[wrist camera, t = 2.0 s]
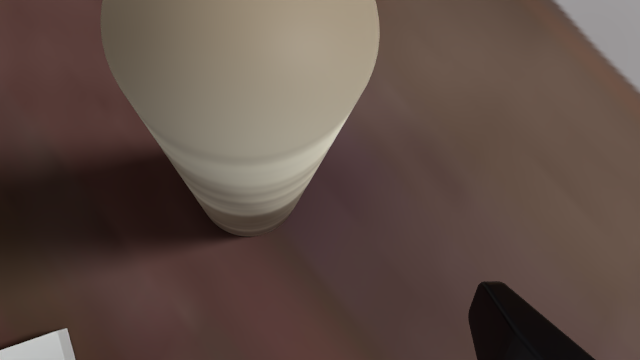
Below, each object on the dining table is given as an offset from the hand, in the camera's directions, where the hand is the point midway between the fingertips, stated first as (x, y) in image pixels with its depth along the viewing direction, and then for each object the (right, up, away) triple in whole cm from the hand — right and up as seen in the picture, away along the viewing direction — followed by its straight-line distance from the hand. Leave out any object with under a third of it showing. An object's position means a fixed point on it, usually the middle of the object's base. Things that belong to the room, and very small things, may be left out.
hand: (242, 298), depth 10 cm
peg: (-1, +2, +12) cm, 12 cm away
